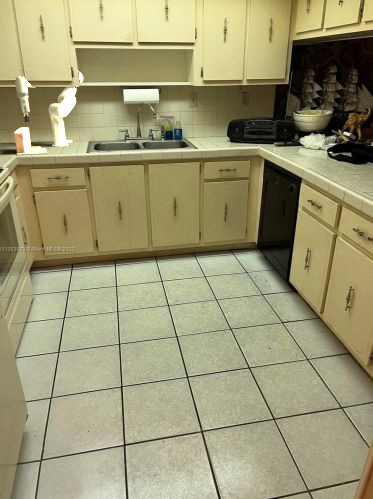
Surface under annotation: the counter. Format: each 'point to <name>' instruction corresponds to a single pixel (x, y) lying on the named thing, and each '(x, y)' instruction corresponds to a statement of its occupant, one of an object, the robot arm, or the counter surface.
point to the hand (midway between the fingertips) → (27, 122)
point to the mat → (34, 151)
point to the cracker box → (22, 140)
